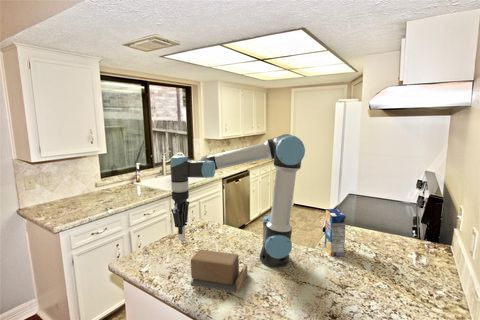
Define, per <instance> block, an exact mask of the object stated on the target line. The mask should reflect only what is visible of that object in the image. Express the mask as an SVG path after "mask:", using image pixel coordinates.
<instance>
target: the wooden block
mask: <svg viewBox="0 0 480 320" xmlns="http://www.w3.org/2000/svg"><path fill="white" fill-rule="evenodd" d="M239 259H240V258H239V254H237V253H230V252H223V251H216V250H215V251H213V250H207V249H206V250H205V249H199V250H198V251H196V253H195V254H194V255H193V256H192V257H191V259H190V271H191V273H190V275H191V276H190V277H191V279H192V280H194V279H195V280H201V281H208V282H214V283H220V284H226V285H233V284H234V282H235V280H236V278H237V276H238V274H239V269H240V267H239V265H240V263H239Z"/></svg>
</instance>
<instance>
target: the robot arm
mask: <svg viewBox="0 0 480 320" xmlns="http://www.w3.org/2000/svg"><path fill="white" fill-rule="evenodd" d="M305 153H306V148H305V144H304V143H303V141H302V140H301V139H300V138H299V137H297V136H295V135H292V134H288V133H286V134H282V135H278V136H276V137H273V138H269V139H266V141H265V142H263V143H258V144H252V145H249V146H245V147H241V148H236V149H232V150H228V151H223V152H219V153H215V154H211V155H210V154H209V155H205V156H202V157H201V158H200V159H199V160H189V158H188V156H187V155H173V156H172V157H171V158H170V169H169V170H170V181H171V182H170V185H171V200H173V201H174V203H173V208H171V213H172V218H173V224H174V227H175V228H177V232H178V233H177V234H178V236H177V237H178V241H185V240H186V226H187V225H188V221H189V220H188V219H189V217H188V215H189V205H190V201H188V199H190V198H189V196H190V193H189V188H190V187H189V185H190V184H189V178H195V179H196V178H202V179H203V178H204V179H208V178H214V177H215V175H216V171H217V170H221V169H225V168H226V169H227V168H230V167H234V166H235V167H236V166H239V165H242V164H243V165H244V164H248V163H252V162H257V161H260V160H266V159H270V160H273V167H274V168H275V169H276V171H275V179H274V187H273V195H272V202H271V204H272V205H271V212H270V214H268V215H265V216H263V219H262V241H263V242H262V246H261V250H260V253H259V260H260V261H259V262H260V263H261V264H263V265H265V266H267V267H270V268H280V267H284V266H287V265H288V264H289V263H290V254H291V252H292V249H293V242H292V232H293V226H292V225H291V223H290V222H291V216H292V215H291V214H292V207H293V199H294V192H295V186H296V185H295V184H296V176H297V172H298V171H299V170H300V169H301V167H302V161H303V160H304V157H305Z"/></svg>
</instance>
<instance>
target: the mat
mask: <svg viewBox="0 0 480 320" xmlns="http://www.w3.org/2000/svg"><path fill="white" fill-rule="evenodd" d="M240 272H241V270H240V271H239V274H240ZM239 274H238V276H239ZM238 276H237V278H238ZM237 278H236V280H237ZM236 280H235V282H234V284H233V285H226V284H220V283H214V282H208V281H201V280H195V279H192V281H191V282H190V285H192V286H197V287H203V288H210V289H217V290H221V291H226V292H228V291H229V292H232V293H233V292H234V293H238V292H237V291H236Z"/></svg>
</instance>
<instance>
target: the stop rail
mask: <svg viewBox="0 0 480 320" xmlns="http://www.w3.org/2000/svg"><path fill="white" fill-rule="evenodd" d="M247 275H248V263H244V264H243V266H242V268H241V270H240V274H239V276H238V278H237V280H236V291H237V292H236V293H240V291H241V289H242V287H243V285H244V283H245V280H246V278H247Z"/></svg>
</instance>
